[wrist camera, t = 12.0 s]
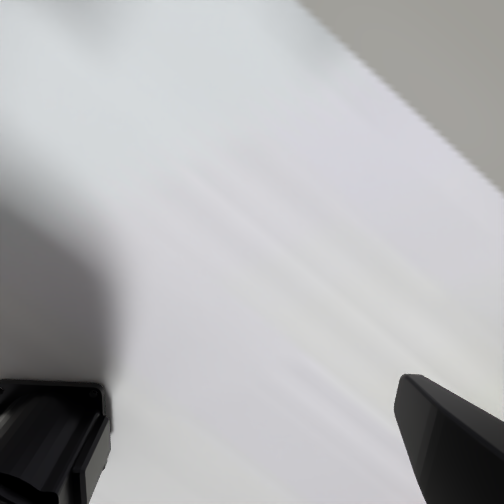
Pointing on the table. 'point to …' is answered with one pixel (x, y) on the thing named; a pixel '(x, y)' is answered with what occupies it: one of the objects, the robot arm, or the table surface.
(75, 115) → the table surface
